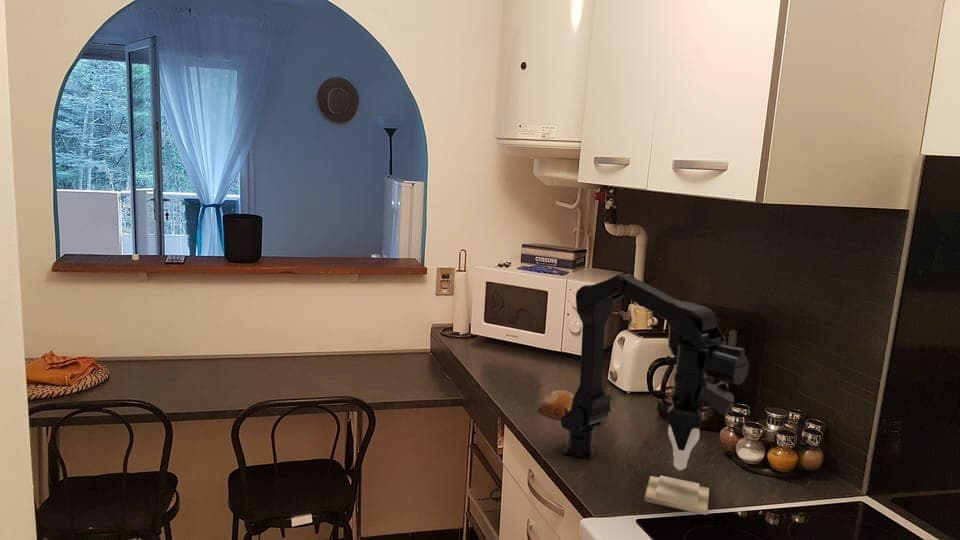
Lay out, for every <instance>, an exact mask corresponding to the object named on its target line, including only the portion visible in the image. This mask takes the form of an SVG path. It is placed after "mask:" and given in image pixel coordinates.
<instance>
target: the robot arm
mask: <svg viewBox="0 0 960 540" xmlns="http://www.w3.org/2000/svg"><path fill="white" fill-rule="evenodd" d="M622 297H625V298H626V299H627V300H630V301H633V302H634V303H636V304H637V305H639V306H641V307H643V308H645V309H647V310H649V311H650V312H652V313H654V314H656V315H658V316H660V317H662V319H664V320H665V321H666V322H667V324H668V325H669V327H670V328H671V329H672V330H674V331H675V332H676V333H677V334H676V335H675V336H674V337H672V338H670V339H669V340H668V343H669V344H671V345H674V346H677V348H678V349H677V358H676V366H675V374H674V379H673V382H674V383H673V385H674V386H673V392H672V396H671V397H672V398H671V401H672V404H671V405H670V406H668V409H667V412H666V423H668V424H669V425H670V426H671V429H672V431H673V434H674V437H675V441H676V444H677V447H678V449H679V450H682V451H684V449H685V446H686V444H687V441H688V438H689V435H690V433H691V430H692V429H694V428H696V429H698V428H699V429H701V426H702V418H703V412H702V410H703V408H704V407H705V406H704V405H706V406H708V407H710V408H712V409H713V410H715V411H717V412H718V413H719V414H721V415H723V416H727V415H728V413H729V411H730V410H731V408H732V406H733V404H734V403H735V396H734V395H733V393H732V392H729V384H733V385H737V386H739V385H741V384H743V383H744V382H745V380H746V377H747V376H748V372H749V368H750V364H749V360H748V357H747V356H746V354H745V353H746V349H745V348H743V347H739V346H736V347H735V346H732V345H728V344H727V341H726V339H725V336H724V335H723V333H722V331H721V329H720V326H719V324H718V320H717V317H716V313H715V312H714V310H712V309H711V308H710V307H707V306H703V305H702V304H697V303H694V302H688V301H682V300H679V299H677V298H675V297H672V296H671V295H668V294H667V293H665V292H663V291H661V290H659V289H657V288H655V287H653V286H651V285H649V284H647V283H645V282H643V281H642V280H640V279H638V278H636V277H635V276H634V275H632V274H630V273H626V274H617V275H615V276H613V277H612V278H609V279H607V280H604V281H601V282H598V283H596V284H588V285H583V286H581V287H580V288H579V289H578V290H577V291H576V293H575V304H576V305H575V307H576V312H577V315H578V317H579V320H580V321H581V323H582V328H581V329H582V333H581V350H580V351H581V353H580V354H581V355H580V371H579V372H580V375H579V376H580V377H579V386H578V388H577V390H576V391H575V393H574V394H573V395H574V397H573V401H572V406H571V411H570V412H568V413H567V414H565V415H564V416H563V417H561V420H560V424H561V427H562V428H564V429H565V430H567V431H568V432H567V443H566V445H565V447H564V449H563V450H562V454H563V455H568V456H571V457H572V456H573V457H577V458H582V459H587V460H591V459H592V457H593V455H594V453H595V451H596V446H593V439H594V430H595V428H596V427H599V426H601V425H602V423H603V421H604V420H606V418H608V416H609V412H611V411H612V409H611V405H610V404H611V399H612V396H611V394H608V393H606V392H605V390H604V388H603V369H604V368H603V365H604V350H605V328H606V327H605V326H606V324H607V321H608V319H609V318H610V316H611V314H612V311H613V306H614V302H615V301H616V300H618V299H621V298H622ZM706 336H708V337H706ZM704 337H706V338H704ZM708 377H710V378H714V379H716V380H720V381H719V382H718V383H716V384H715V383H712V384H711V383H709V382H707V381H708ZM726 382H727V383H726ZM728 383H729V384H728Z"/></svg>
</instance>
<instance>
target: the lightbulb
mask: <svg viewBox="0 0 960 540" xmlns="http://www.w3.org/2000/svg"><path fill="white" fill-rule="evenodd" d="M667 434H668V438H669V441H670V443H671V446H672V456H673V463H672V464H673V467H674V468H676V469H677V471H682V470H685V469H686V468H687V466H688V460H689V459H690V455H691V451H692V450H693V448H694V447H695V445H696V444H697V443H698V442H699V439H700V434H701V432H700V428H698V429H696V428H694V429H692V430H691V433H690V435H689V438H688V441H687V444H686V446H685V449H684V451H682V450H679V449H678V447H677V444H676V441H675V437H674V434H673V431H672V429H671V426H670V424H669V425H668V428H667Z"/></svg>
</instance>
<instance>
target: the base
mask: <svg viewBox="0 0 960 540" xmlns="http://www.w3.org/2000/svg"><path fill="white" fill-rule="evenodd" d="M644 493H645V494H644V499H643V500H644V501H643V502H646V503H651V504H655V505H660V506H664V507H669V508H673V509H678V510H683V511H685V512H686V511H687V512H691V513H696V514H700V515H705V516H707V515H708V508H709V507H708V506H709V496H710V487H706V486H702V485H701V486H700V483H698V482H693V481H689V480H685V479H684V480H683V479H680V478H679V479H678V478H675V477H669V476H665V475H659V477H657V476H652V475H650V476H649V480H648V483H647V487H646V491H645V492H644Z"/></svg>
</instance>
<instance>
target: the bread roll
mask: <svg viewBox="0 0 960 540" xmlns="http://www.w3.org/2000/svg"><path fill="white" fill-rule="evenodd" d="M574 395H575V394H573V393H572V392H569V391H567V390H561V389H560V390H555V391H554V390H553V391H551V392H549V393H547V394H546V396H544V398H543V399H542V403H541V412H542V414H544V415H545V416H547V417H549V418H551V419H554V420H560V421H561V417H563V416H564V415H565V414H567V413H568V412H570V411H571V406H572V401H573V397H574Z"/></svg>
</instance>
